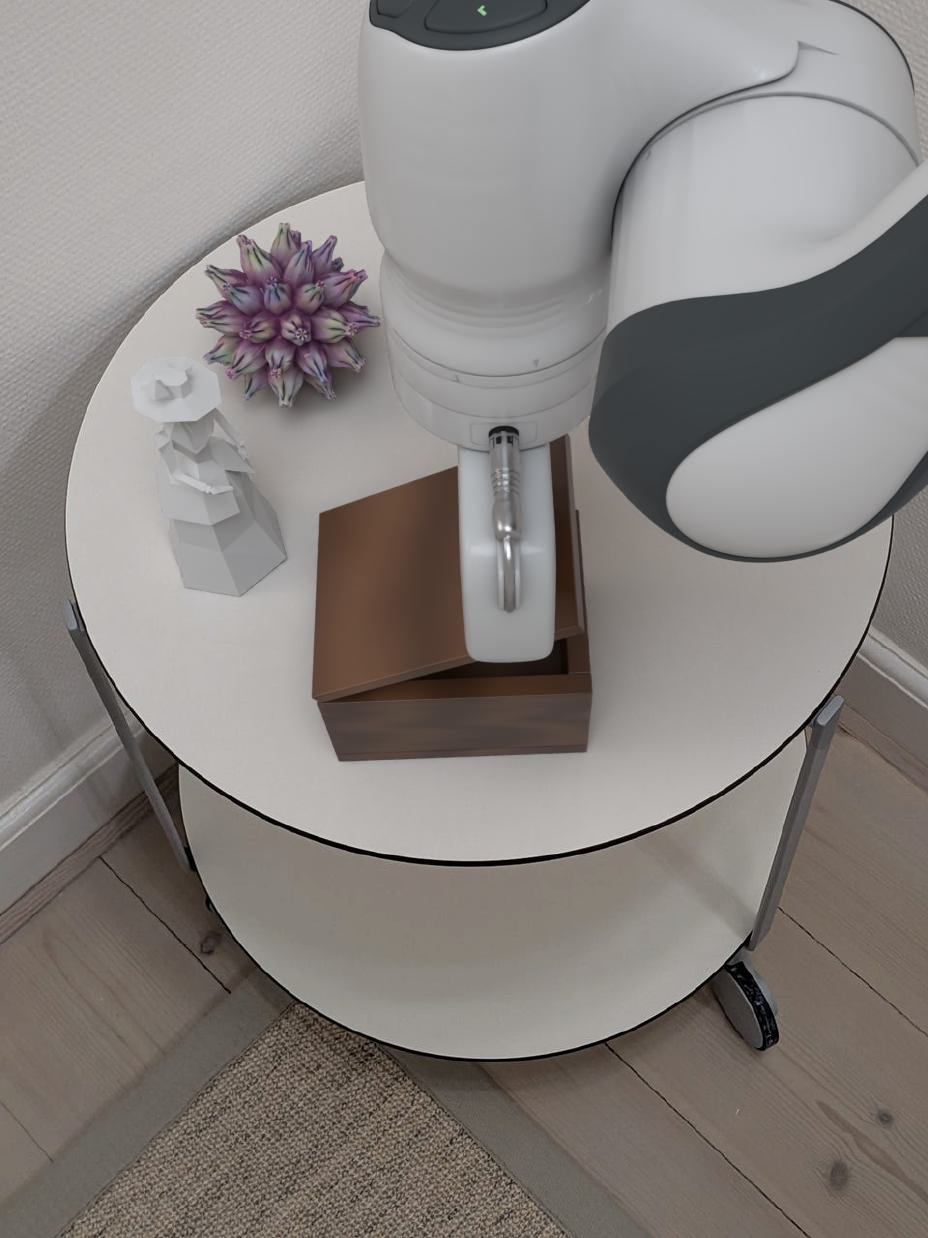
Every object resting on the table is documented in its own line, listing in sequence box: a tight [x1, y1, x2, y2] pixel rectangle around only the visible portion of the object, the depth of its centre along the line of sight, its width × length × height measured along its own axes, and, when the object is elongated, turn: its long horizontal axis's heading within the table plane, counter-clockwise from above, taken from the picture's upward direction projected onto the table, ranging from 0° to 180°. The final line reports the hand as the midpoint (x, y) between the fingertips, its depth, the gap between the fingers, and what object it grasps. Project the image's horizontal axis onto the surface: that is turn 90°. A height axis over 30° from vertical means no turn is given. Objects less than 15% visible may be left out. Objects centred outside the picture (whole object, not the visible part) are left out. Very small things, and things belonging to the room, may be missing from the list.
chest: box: [316, 509, 593, 762], centre depth 71 cm, size 14×11×8 cm
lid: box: [311, 432, 584, 703], centre depth 62 cm, size 15×11×5 cm
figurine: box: [130, 355, 288, 598], centre depth 71 cm, size 7×8×18 cm
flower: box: [194, 222, 381, 409], centre depth 81 cm, size 12×12×12 cm
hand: (503, 525), depth 60 cm, fingers closed on lid, 5 cm apart
